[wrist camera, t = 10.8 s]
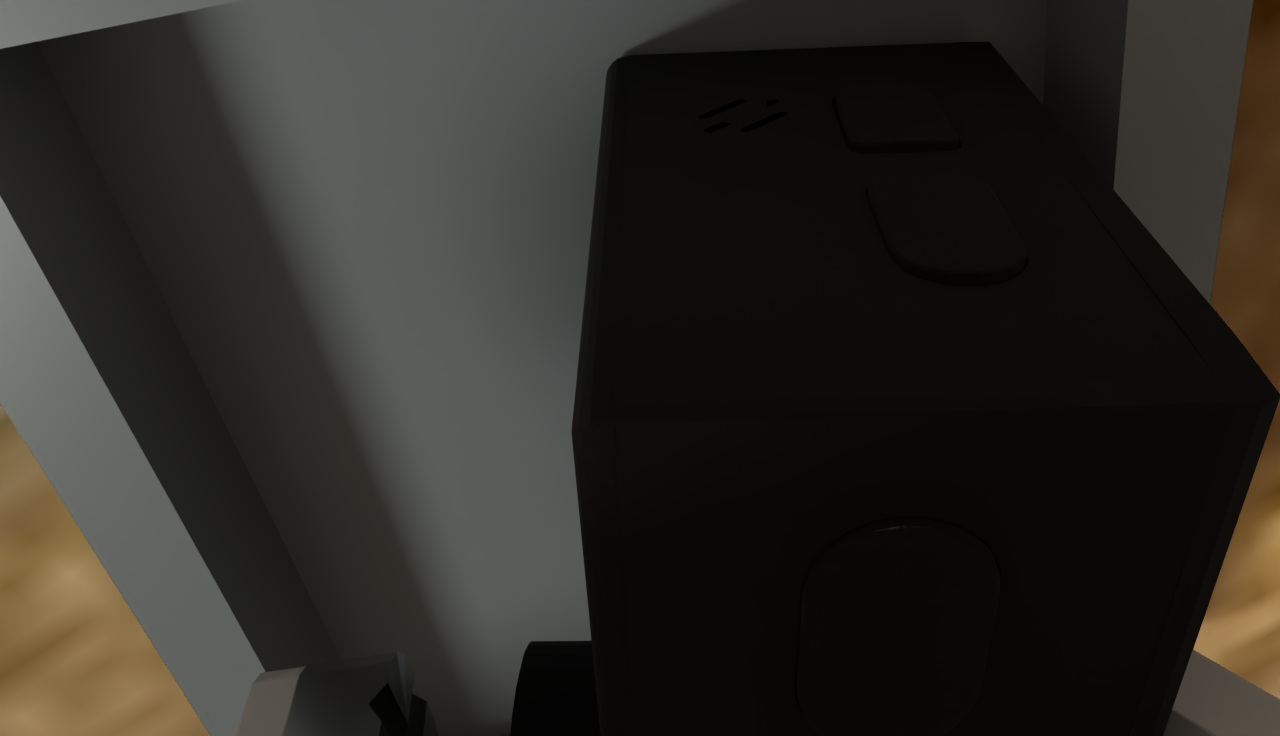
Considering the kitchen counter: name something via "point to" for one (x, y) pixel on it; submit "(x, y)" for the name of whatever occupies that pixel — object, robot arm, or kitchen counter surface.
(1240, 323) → the kitchen counter surface
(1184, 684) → the robot arm
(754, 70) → the digital camera
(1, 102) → the tray
